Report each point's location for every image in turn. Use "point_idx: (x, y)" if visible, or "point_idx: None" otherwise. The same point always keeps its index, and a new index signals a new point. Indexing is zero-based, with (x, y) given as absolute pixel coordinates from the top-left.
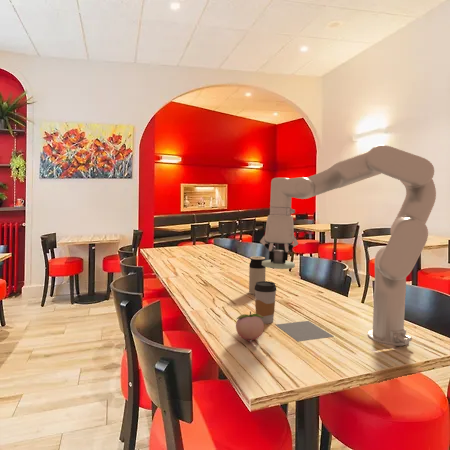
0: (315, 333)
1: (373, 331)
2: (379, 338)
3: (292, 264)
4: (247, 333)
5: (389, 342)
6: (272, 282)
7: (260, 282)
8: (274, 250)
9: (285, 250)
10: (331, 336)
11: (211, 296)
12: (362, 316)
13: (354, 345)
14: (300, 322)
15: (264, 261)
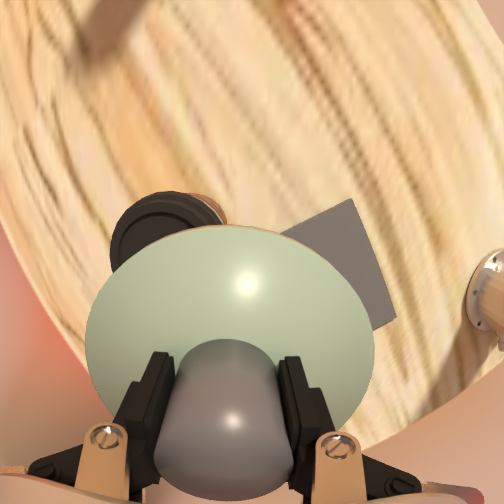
0: None
1: (482, 300)
2: (479, 315)
3: (345, 405)
4: None
5: (484, 330)
6: (200, 225)
7: (131, 226)
8: (171, 470)
9: (303, 498)
10: (390, 319)
11: (26, 20)
12: (494, 130)
13: (422, 344)
14: (323, 221)
15: (103, 356)
